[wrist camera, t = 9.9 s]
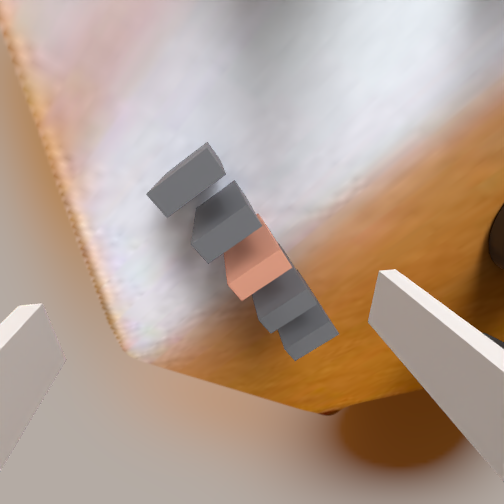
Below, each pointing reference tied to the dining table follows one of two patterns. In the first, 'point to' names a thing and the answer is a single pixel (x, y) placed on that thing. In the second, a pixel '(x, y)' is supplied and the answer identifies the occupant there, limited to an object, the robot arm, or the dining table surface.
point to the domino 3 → (254, 262)
